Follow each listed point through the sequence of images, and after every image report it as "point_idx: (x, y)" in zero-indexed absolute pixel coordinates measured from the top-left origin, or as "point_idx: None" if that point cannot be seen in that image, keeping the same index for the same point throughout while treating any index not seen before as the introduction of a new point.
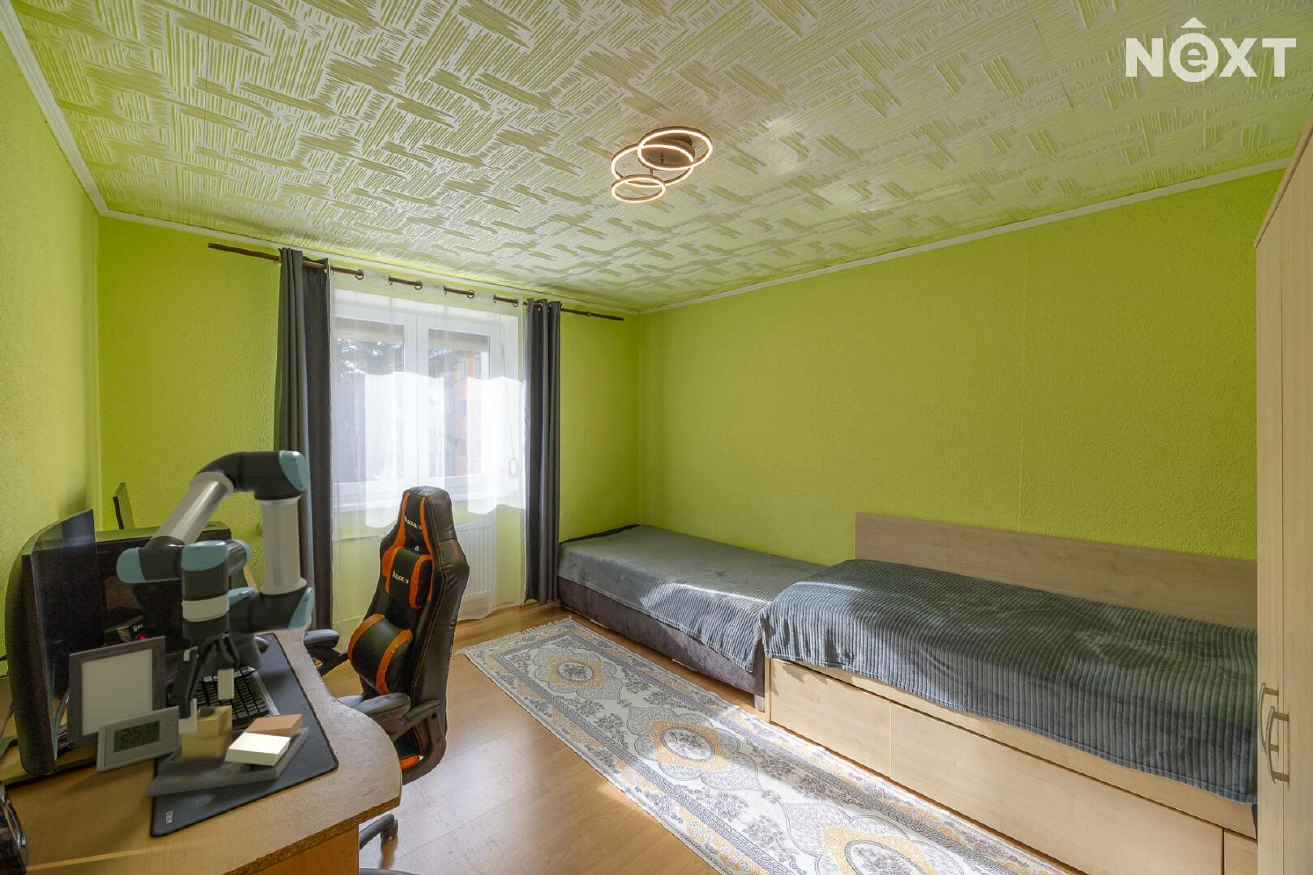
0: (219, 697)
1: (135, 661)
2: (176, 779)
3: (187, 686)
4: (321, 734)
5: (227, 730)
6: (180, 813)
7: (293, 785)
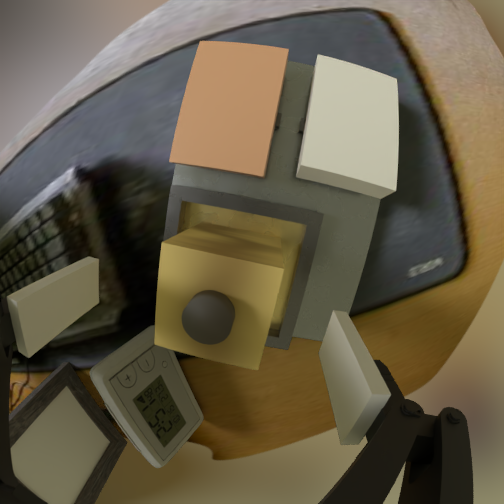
0: (95, 302)
1: (24, 465)
2: (341, 296)
3: (470, 466)
4: (215, 39)
5: (214, 233)
6: (426, 251)
7: (417, 72)
